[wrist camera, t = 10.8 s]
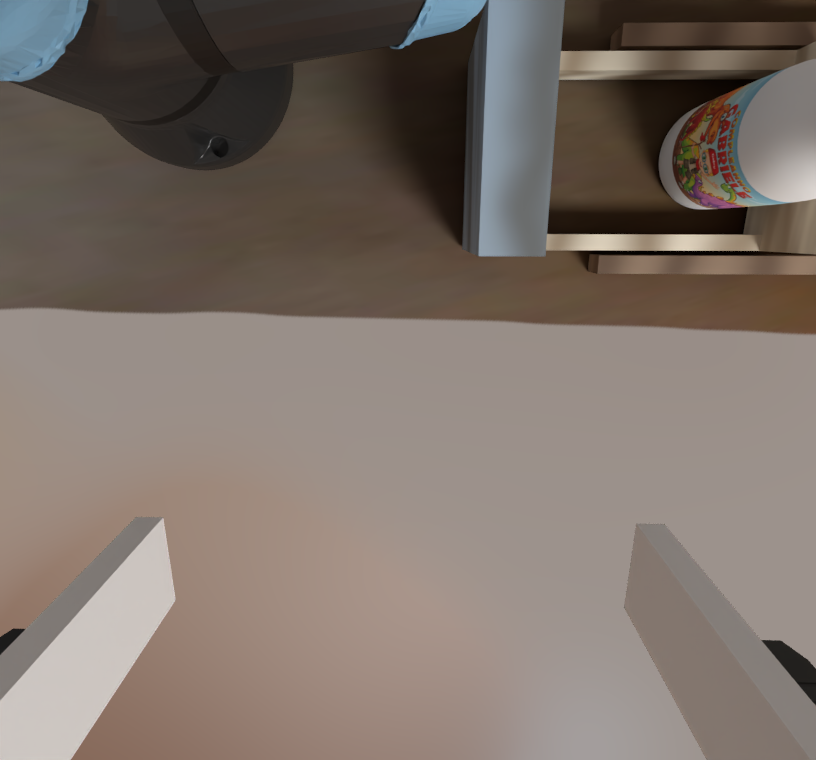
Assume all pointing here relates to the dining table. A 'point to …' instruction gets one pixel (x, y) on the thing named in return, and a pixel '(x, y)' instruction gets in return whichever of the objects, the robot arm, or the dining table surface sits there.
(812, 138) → the milk bottle
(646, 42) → the dark wooden tray
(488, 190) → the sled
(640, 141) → the dining table surface
